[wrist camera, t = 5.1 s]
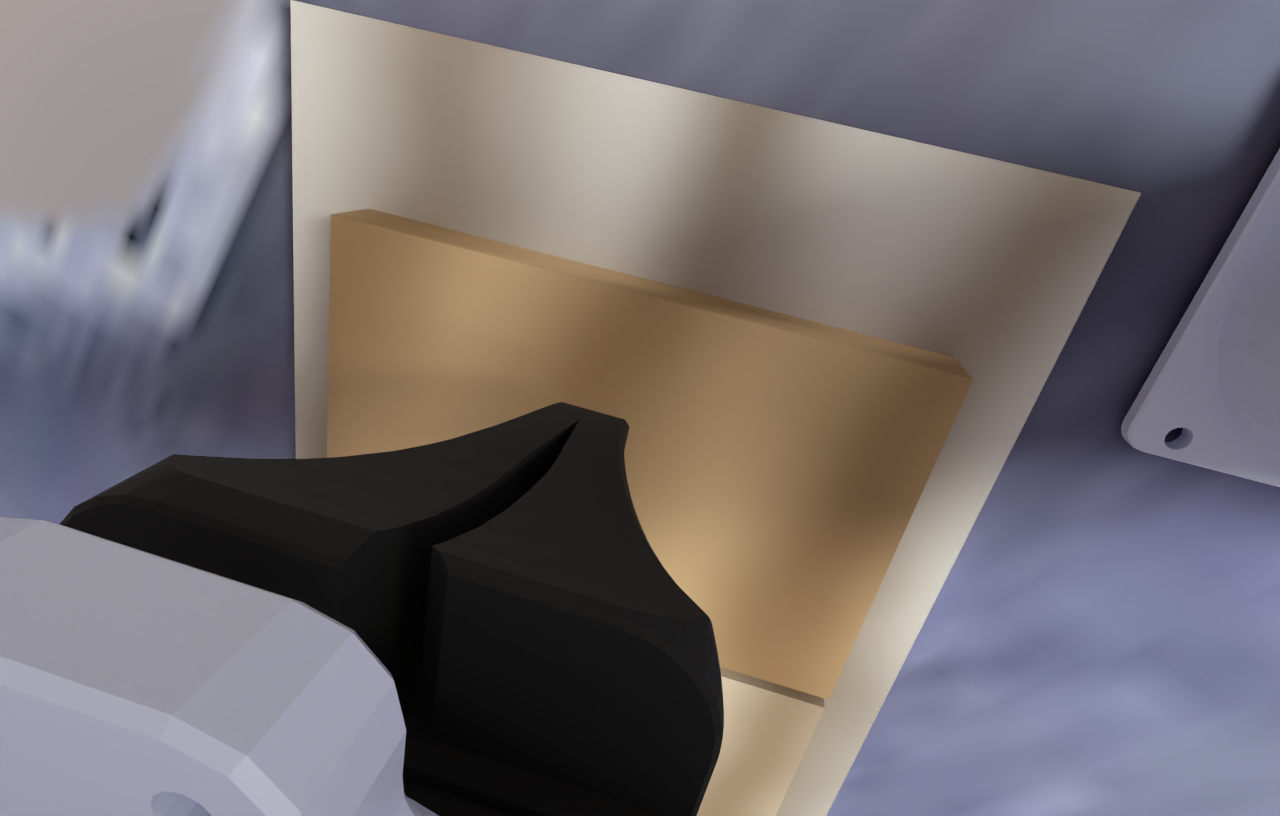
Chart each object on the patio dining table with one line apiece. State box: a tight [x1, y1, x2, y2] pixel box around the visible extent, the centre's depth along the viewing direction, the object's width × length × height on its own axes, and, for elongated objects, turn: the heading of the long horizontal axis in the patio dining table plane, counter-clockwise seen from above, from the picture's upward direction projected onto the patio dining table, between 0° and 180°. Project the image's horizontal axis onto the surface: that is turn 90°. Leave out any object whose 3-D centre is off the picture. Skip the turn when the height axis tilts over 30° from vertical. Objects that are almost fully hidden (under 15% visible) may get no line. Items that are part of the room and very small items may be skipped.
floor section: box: [291, 0, 1141, 816], centre depth 17 cm, size 18×20×2 cm
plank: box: [327, 209, 973, 700], centre depth 16 cm, size 14×9×2 cm, turn 78°
